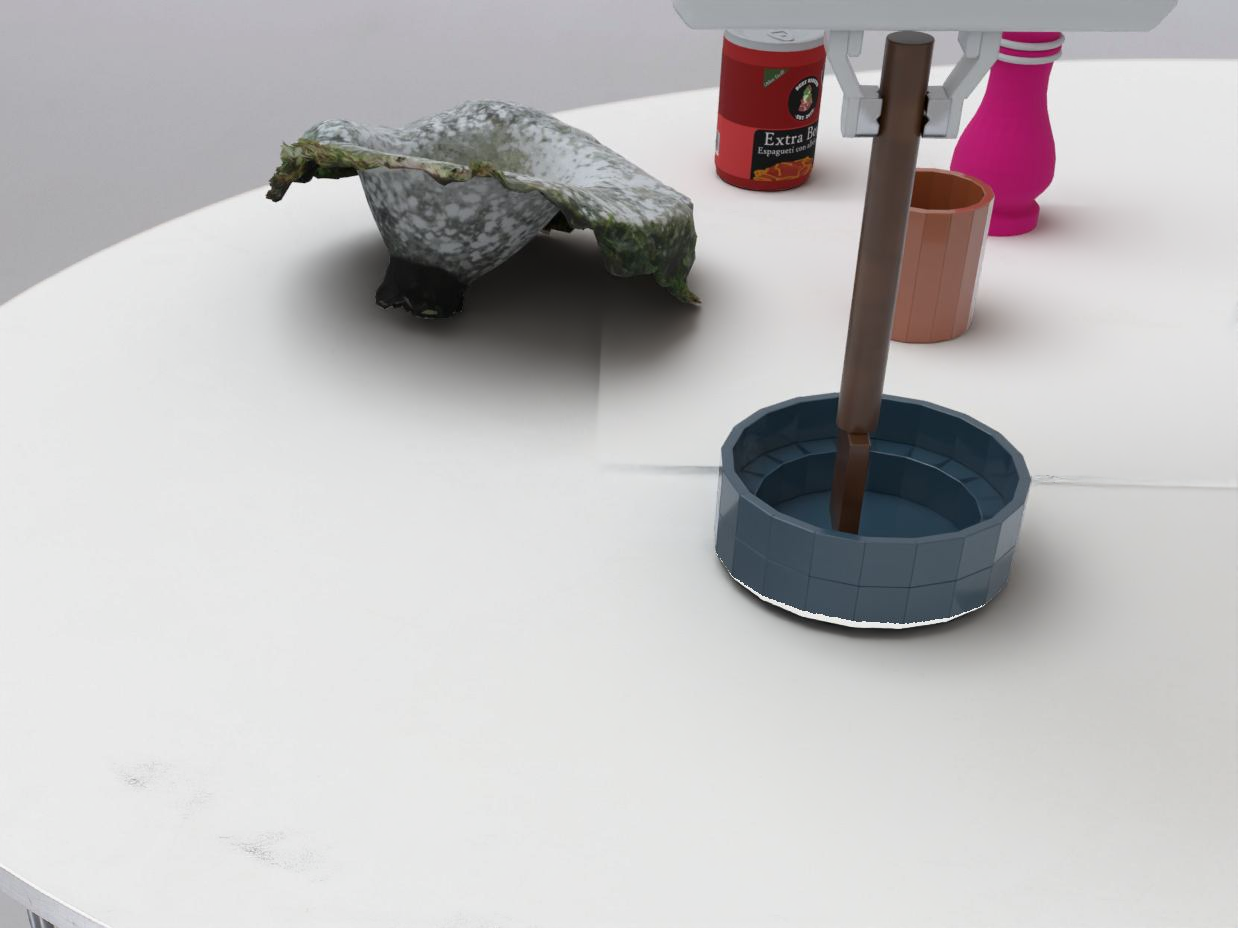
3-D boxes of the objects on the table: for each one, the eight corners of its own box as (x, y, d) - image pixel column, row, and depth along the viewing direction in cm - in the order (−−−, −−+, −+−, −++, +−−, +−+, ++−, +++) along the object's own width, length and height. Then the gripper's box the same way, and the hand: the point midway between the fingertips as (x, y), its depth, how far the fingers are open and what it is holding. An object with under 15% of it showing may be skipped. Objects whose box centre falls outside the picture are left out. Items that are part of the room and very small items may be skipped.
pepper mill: (1024, 254, 116) (1086, -52, 104) (926, 234, 119) (974, -66, 107) (1055, 220, 121) (1117, -77, 108) (959, 201, 124) (1010, -89, 111)
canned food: (758, 200, 125) (772, 48, 118) (692, 169, 130) (701, 22, 123) (834, 178, 128) (852, 30, 121) (766, 149, 133) (779, 5, 126)
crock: (959, 302, 110) (983, 168, 105) (977, 353, 104) (1003, 214, 99) (844, 300, 111) (862, 166, 105) (856, 350, 105) (875, 212, 99)
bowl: (983, 485, 92) (1001, 395, 88) (1033, 644, 80) (1056, 548, 76) (709, 478, 93) (716, 388, 89) (718, 634, 81) (727, 538, 77)
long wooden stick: (858, 510, 85) (928, 23, 70) (865, 552, 82) (941, 52, 67) (818, 509, 85) (881, 23, 70) (825, 550, 82) (891, 52, 67)
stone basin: (226, 300, 94) (243, 16, 90) (278, 300, 122) (292, 85, 119) (732, 353, 95) (770, 77, 91) (666, 341, 124) (692, 130, 120)
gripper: (674, -218, 61) (656, 157, 69) (1245, -220, 59) (1153, 163, 68) (672, -247, 66) (656, 107, 74) (1199, -249, 64) (1119, 112, 73)
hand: (898, 134), depth 71 cm, fingers closed on long wooden stick, 2 cm apart
